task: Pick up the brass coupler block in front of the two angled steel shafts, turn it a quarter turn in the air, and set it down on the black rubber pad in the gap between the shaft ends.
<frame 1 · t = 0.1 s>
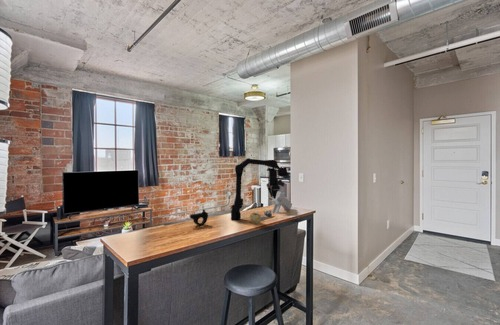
hand: (273, 197, 183), 15 cm above the table, tool pointing down, fingers open, 9 cm apart
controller: (199, 225, 164), on the table
pad: (263, 218, 180), on the table
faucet: (282, 211, 204), on the table
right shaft: (268, 216, 186), on the table
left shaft: (254, 220, 176), on the table
coupler: (255, 222, 169), on the table
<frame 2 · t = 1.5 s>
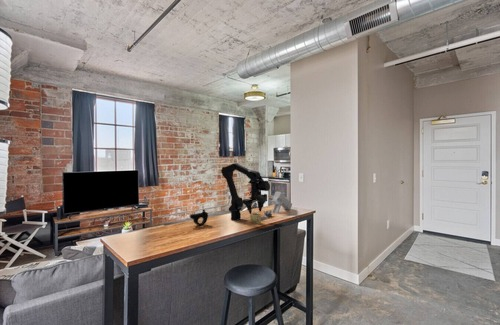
hand: (255, 212, 169), 7 cm above the table, tool pointing down, fingers open, 9 cm apart
nothing on the table moved.
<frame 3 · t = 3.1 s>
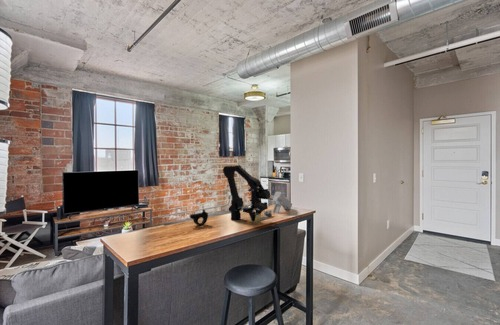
hand: (255, 220, 169), 1 cm above the table, tool pointing down, fingers closed on coupler, 4 cm apart
coupler: (255, 222, 169), on the table, touching gripper
everything else where it was.
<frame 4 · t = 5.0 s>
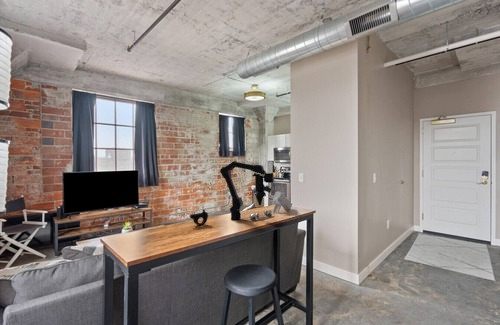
hand: (259, 204, 175), 11 cm above the table, tool pointing down, fingers closed on coupler, 4 cm apart
coupler: (259, 206, 175), point 10 cm above the table, touching gripper
everything else where it was.
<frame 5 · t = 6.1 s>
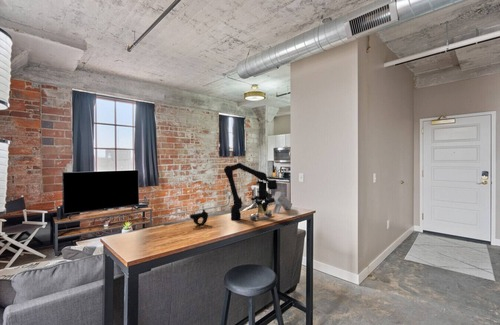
hand: (262, 211, 180), 6 cm above the table, tool pointing down, fingers closed on coupler, 4 cm apart
coupler: (262, 212, 180), point 4 cm above the table, touching gripper
everything else where it was.
when the fingers open (3 cm above the table, at t = 7.0 s): coupler drops 1 cm, resting on pad.
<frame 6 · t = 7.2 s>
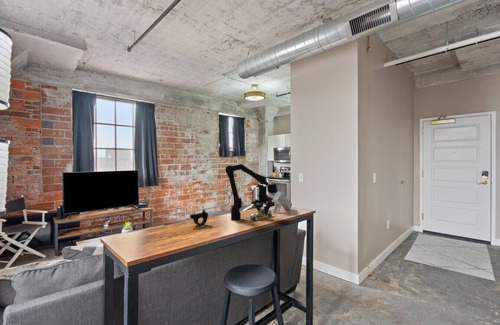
hand: (262, 214, 180), 3 cm above the table, tool pointing down, fingers open, 6 cm apart
coupler: (263, 218, 180), resting on pad
everything else where it was.
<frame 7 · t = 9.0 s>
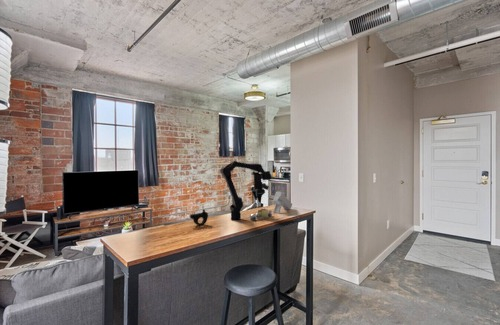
hand: (257, 201, 186), 12 cm above the table, tool pointing down, fingers open, 9 cm apart
nothing on the table moved.
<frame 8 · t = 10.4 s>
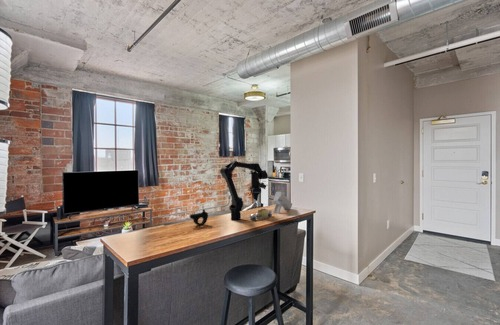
hand: (255, 200, 189), 12 cm above the table, tool pointing down, fingers open, 9 cm apart
nothing on the table moved.
at the end: coupler 0.0 cm off-centre on the pad, point 0.4 cm above the pad's base; coupler tilted 0°; the gripper is holding nothing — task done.
